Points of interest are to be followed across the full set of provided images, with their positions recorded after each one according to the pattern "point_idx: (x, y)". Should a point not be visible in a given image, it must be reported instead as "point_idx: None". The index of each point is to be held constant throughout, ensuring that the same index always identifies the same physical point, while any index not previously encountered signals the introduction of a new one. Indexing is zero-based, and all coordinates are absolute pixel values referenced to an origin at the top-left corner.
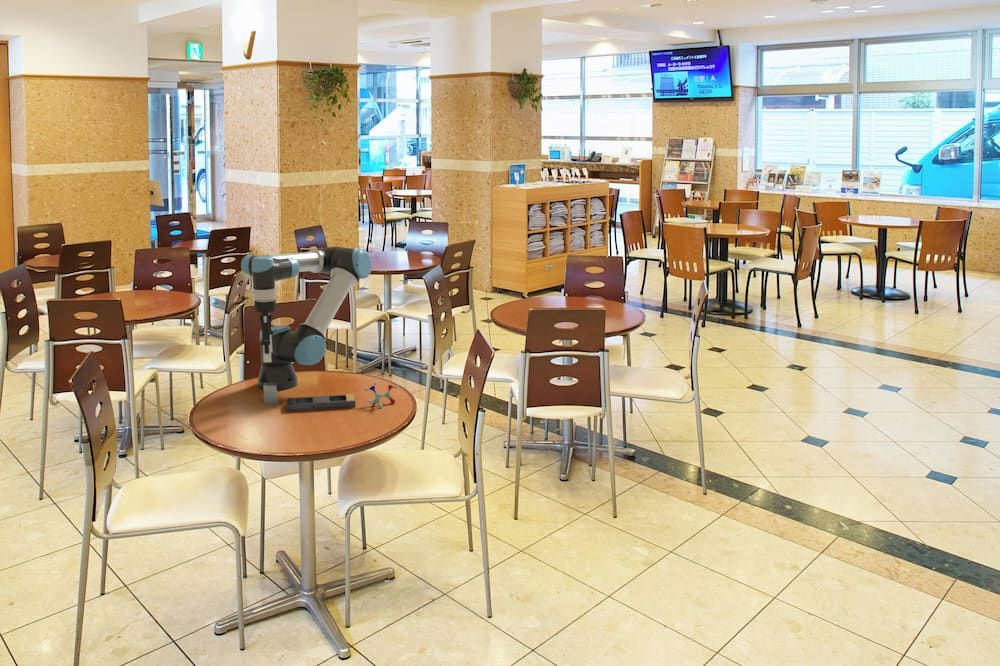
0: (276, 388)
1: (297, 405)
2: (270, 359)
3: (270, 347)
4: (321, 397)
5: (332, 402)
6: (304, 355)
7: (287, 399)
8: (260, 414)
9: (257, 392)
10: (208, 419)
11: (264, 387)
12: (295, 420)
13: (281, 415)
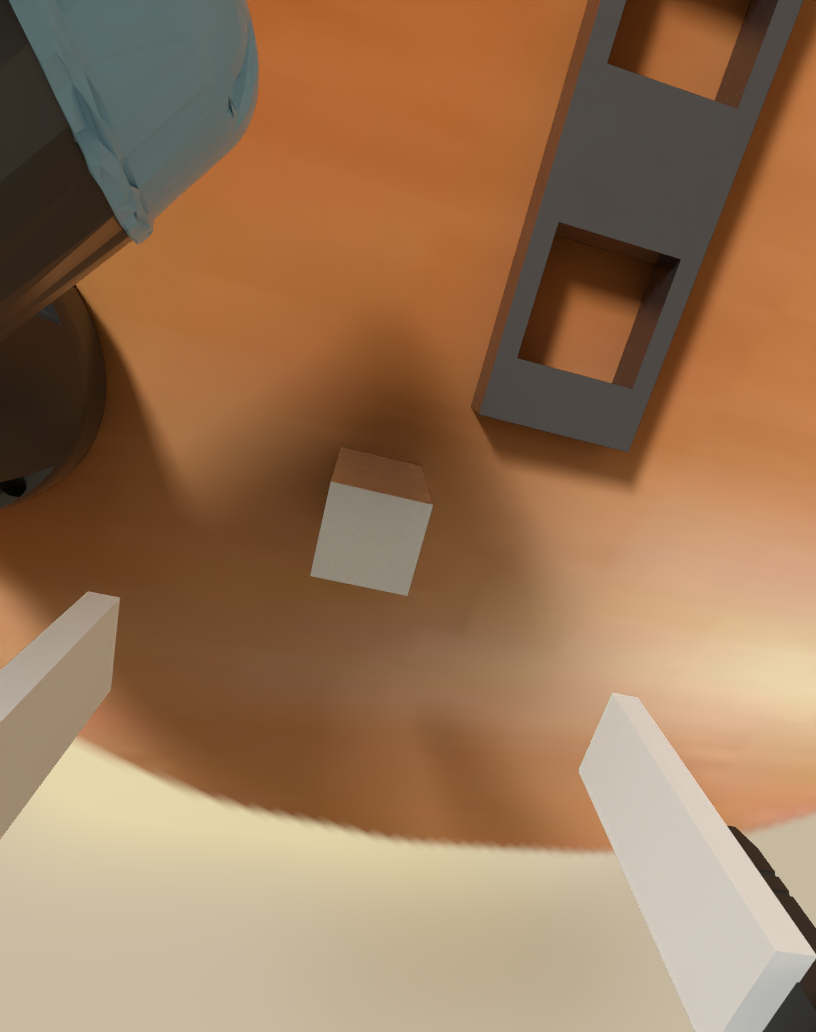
0: (406, 489)
1: (651, 381)
2: (651, 730)
3: (769, 890)
4: (600, 146)
5: (764, 92)
6: (256, 82)
7: (512, 421)
8: (570, 593)
9: (121, 532)
10: (510, 813)
11: (409, 585)
12: (790, 435)
13: (655, 491)
